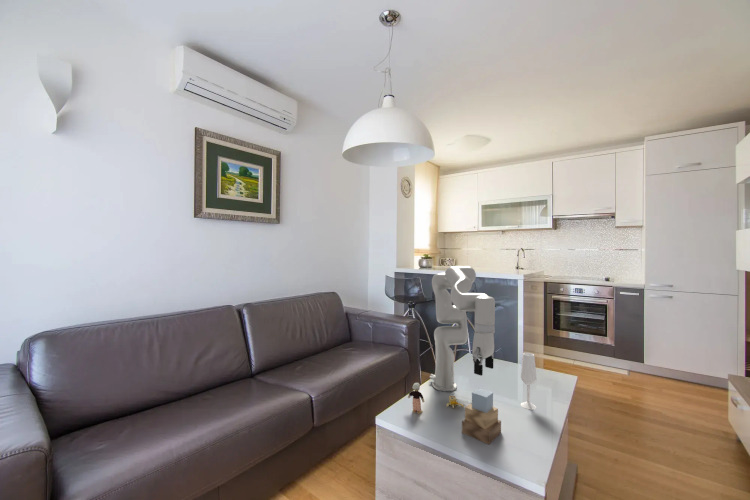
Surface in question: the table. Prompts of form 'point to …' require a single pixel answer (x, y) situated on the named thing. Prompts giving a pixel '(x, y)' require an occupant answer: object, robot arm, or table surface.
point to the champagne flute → (528, 376)
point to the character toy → (453, 401)
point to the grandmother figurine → (416, 398)
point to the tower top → (481, 416)
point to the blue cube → (482, 400)
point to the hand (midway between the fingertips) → (483, 371)
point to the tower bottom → (481, 431)
